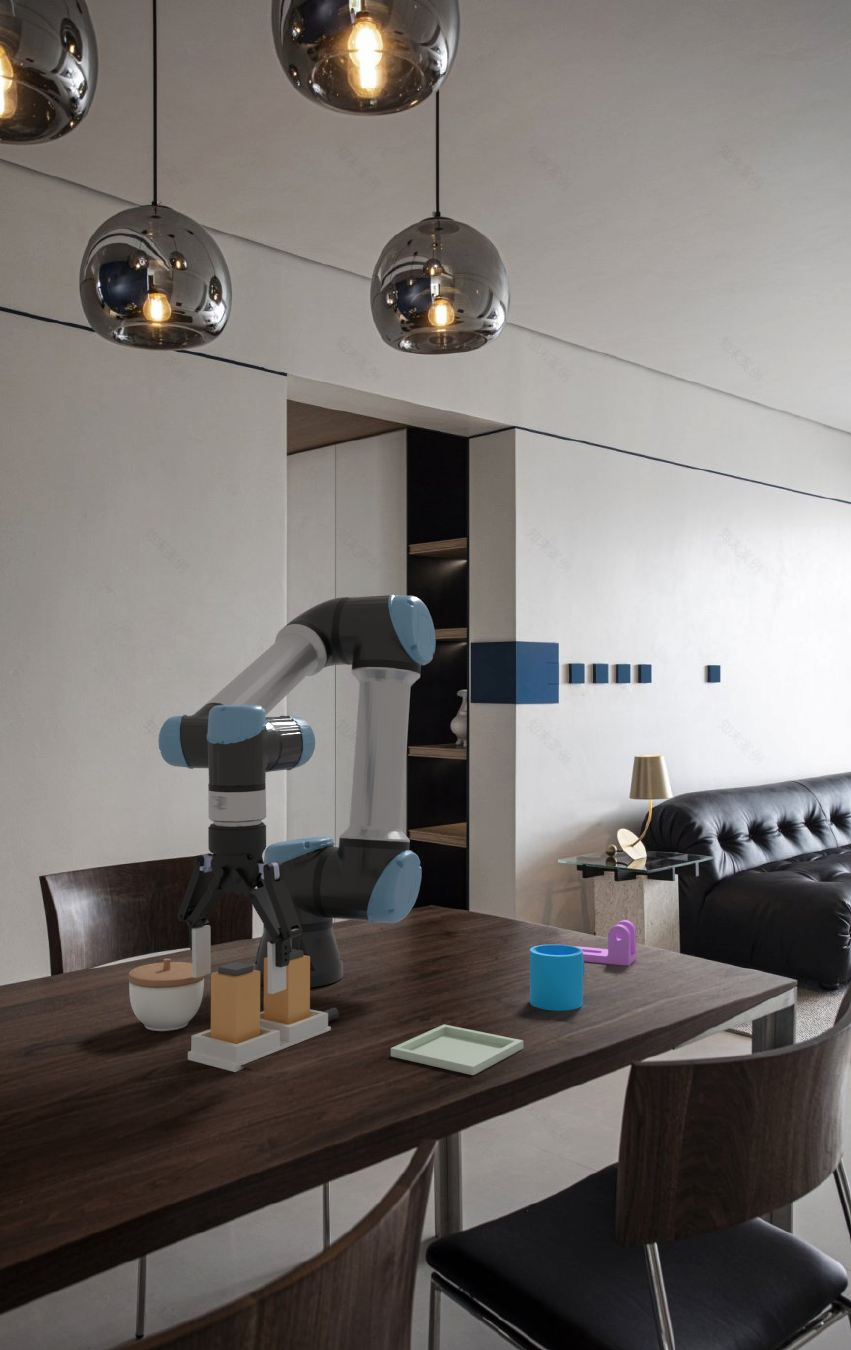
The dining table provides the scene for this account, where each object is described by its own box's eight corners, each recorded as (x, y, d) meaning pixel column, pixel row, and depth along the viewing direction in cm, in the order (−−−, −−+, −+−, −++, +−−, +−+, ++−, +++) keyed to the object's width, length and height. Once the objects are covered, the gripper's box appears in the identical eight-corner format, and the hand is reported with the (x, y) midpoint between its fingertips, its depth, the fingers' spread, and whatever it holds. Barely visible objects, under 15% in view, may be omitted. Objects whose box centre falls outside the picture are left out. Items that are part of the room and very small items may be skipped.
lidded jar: (137, 1040, 151) (138, 971, 151) (120, 1020, 160) (121, 955, 161) (213, 1029, 156) (214, 963, 156) (193, 1010, 165) (193, 947, 165)
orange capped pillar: (210, 1050, 144) (211, 967, 144) (234, 1041, 147) (235, 960, 147) (235, 1056, 141) (236, 972, 141) (259, 1047, 145) (260, 965, 145)
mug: (565, 1014, 164) (565, 959, 164) (519, 1004, 169) (519, 951, 169) (605, 997, 174) (604, 945, 174) (560, 988, 179) (560, 937, 179)
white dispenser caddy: (234, 1072, 138) (235, 953, 138) (187, 1059, 143) (188, 945, 143) (357, 1023, 159) (357, 920, 159) (312, 1013, 164) (312, 914, 164)
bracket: (636, 959, 199) (636, 921, 199) (628, 966, 194) (628, 926, 194) (566, 952, 204) (566, 915, 204) (557, 959, 199) (557, 920, 199)
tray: (390, 1060, 143) (390, 1048, 143) (444, 1035, 153) (444, 1024, 153) (473, 1079, 136) (473, 1066, 136) (523, 1052, 146) (523, 1040, 146)
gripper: (150, 818, 149) (151, 975, 149) (290, 832, 135) (291, 1005, 135) (191, 812, 155) (192, 963, 155) (329, 825, 141) (330, 991, 141)
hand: (238, 983), depth 145 cm, fingers open, 13 cm apart
